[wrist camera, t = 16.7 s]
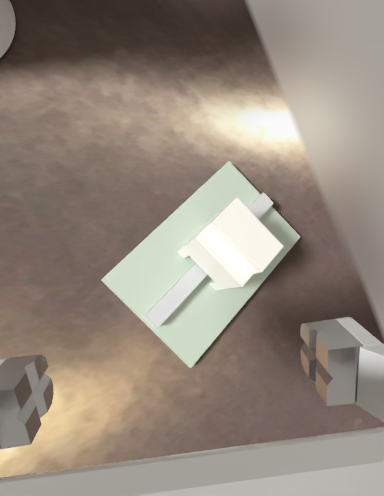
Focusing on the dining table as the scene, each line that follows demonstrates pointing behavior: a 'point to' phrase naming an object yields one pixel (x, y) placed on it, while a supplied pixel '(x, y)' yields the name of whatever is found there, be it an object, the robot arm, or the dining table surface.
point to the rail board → (193, 269)
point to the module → (232, 246)
